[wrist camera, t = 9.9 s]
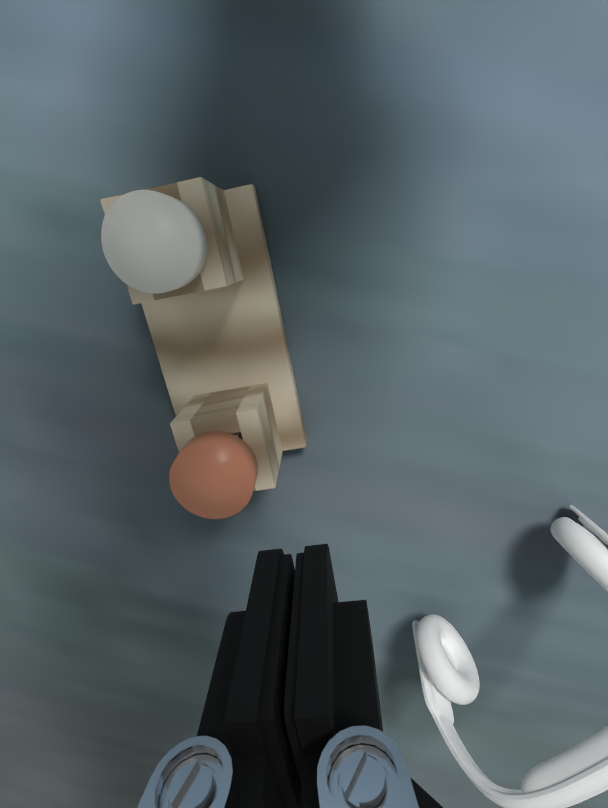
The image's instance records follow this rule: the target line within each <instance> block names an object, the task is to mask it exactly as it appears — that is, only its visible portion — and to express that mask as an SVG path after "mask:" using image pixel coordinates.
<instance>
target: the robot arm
mask: <svg viewBox="0 0 608 808" xmlns="http://www.w3.org/2000/svg"><path fill="white" fill-rule="evenodd" d="M137 808H443V807H442V806H441V805H440V804H439V803H437V802H436V801H435V800H434V799H433V798H432V797H431V796H430V795H429V794H428V793H427V792H426V791H424V790H423V789H422V788H421V787H420V786H419V785H418V784H417V783H416V782H415V781H414V780H413V779H411V778H410V775H409V772H408V768H407V765H406V762H405V760H404V757H403V755H402V753H401V751H400V748H399V747H398V746H397V745H396V744H395V742H394V741H393V740H392V739H391V738H390V737H389V736H388V735H386V734H385V733H383V727H382V718H381V710H380V702H379V693H378V685H377V676H376V668H375V659H374V651H373V644H372V636H371V629H370V622H369V615H368V608H367V602H366V600H359V601H348V602H338V597H337V592H336V586H335V580H334V575H333V569H332V563H331V558H330V552H329V547H328V544H321V545H312V546H305V550H304V553H297V556H296V567H295V569H294V564H293V560H292V556H291V554H286V555H284V553H283V550H282V549H274V550H265V551H259V552H258V555H257V560H256V565H255V570H254V574H253V579H252V584H251V589H250V594H249V599H248V604H247V608H246V611H240V612H230V614H229V615H228V617H227V620H226V623H225V627H224V631H223V635H222V639H221V643H220V647H219V651H218V655H217V659H216V663H215V667H214V671H213V675H212V679H211V682H210V686H209V690H208V694H207V698H206V702H205V706H204V710H203V714H202V718H201V722H200V726H199V730H198V734H197V736H195V737H192V738H189V739H187V740H184V741H182V742H181V743H179V744H178V745H176V746H175V747H174V748H172V749H171V750H170V751H169V752H168V753H167V754H166V755H165V756H164V757H163V758H162V760H161V761H160V762H159V763H158V765H157V767H156V769H155V770H154V772H153V774H152V776H151V777H150V780H149V782H148V784H147V786H146V789H145V791H144V793H143V796H142V798H141V800H140V802H139V805H138V807H137Z"/></svg>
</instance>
